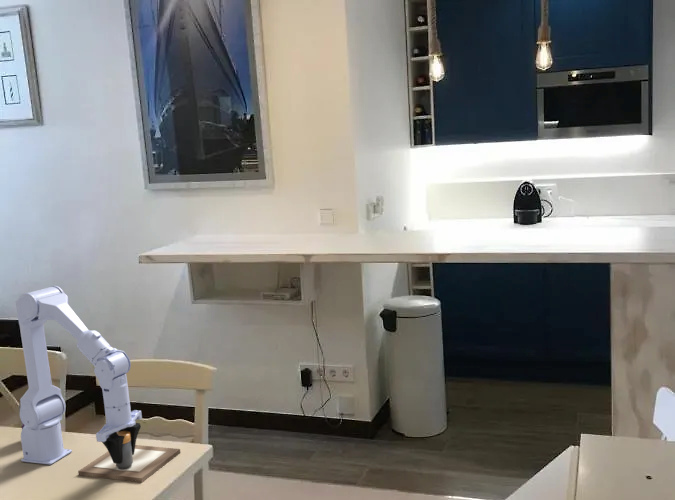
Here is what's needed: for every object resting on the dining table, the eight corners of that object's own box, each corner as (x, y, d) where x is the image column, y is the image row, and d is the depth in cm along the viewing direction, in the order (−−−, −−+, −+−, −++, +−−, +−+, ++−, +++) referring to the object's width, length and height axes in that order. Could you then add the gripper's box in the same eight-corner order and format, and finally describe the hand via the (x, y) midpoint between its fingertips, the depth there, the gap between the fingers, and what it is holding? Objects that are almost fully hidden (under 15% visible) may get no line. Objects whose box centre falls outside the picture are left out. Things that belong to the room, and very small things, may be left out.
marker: (111, 469, 170) (108, 437, 169) (122, 461, 174) (119, 430, 172) (126, 471, 168) (122, 438, 167) (137, 463, 172) (133, 431, 171)
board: (78, 475, 171) (77, 470, 171) (120, 447, 186) (120, 442, 186) (142, 482, 165) (141, 477, 165) (180, 452, 180) (179, 448, 179)
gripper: (111, 416, 161) (118, 473, 163) (149, 393, 174) (155, 447, 176) (85, 414, 163) (93, 471, 165) (125, 392, 177) (131, 445, 178)
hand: (123, 458), depth 171 cm, fingers closed on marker, 4 cm apart
